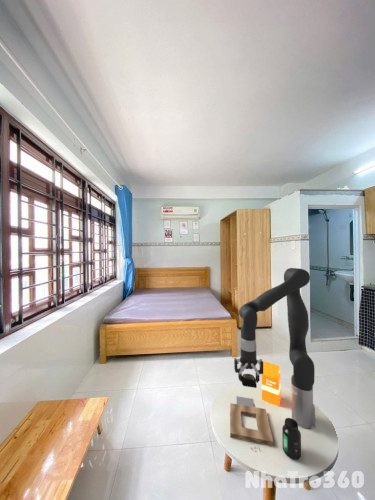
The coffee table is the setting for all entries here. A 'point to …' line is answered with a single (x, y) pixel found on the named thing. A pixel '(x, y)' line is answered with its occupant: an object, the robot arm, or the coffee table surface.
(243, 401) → the mat
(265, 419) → the board
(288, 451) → the supplement bottle
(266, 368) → the orange juice
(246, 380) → the tape measure
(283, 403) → the coffee table surface
